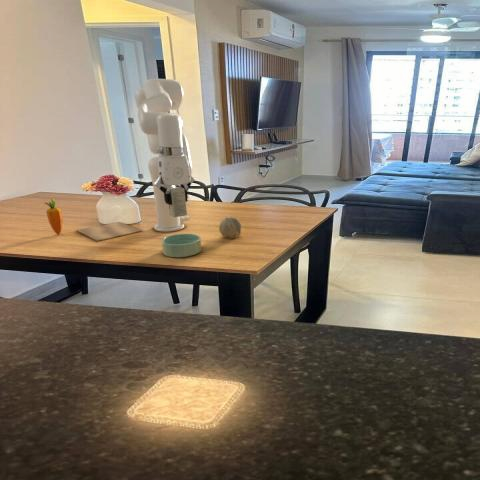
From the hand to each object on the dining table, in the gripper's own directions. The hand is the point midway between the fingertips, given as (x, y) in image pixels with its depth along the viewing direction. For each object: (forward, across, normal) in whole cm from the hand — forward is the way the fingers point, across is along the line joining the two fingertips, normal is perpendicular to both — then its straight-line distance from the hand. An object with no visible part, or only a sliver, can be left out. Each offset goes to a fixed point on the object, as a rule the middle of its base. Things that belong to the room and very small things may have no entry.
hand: (176, 202), depth 138 cm
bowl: (+19, 0, -1) cm, 19 cm away
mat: (+20, -7, +44) cm, 49 cm away
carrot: (+20, -23, +54) cm, 62 cm away
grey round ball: (+19, +23, 0) cm, 30 cm away
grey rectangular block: (+5, 0, 0) cm, 5 cm away
